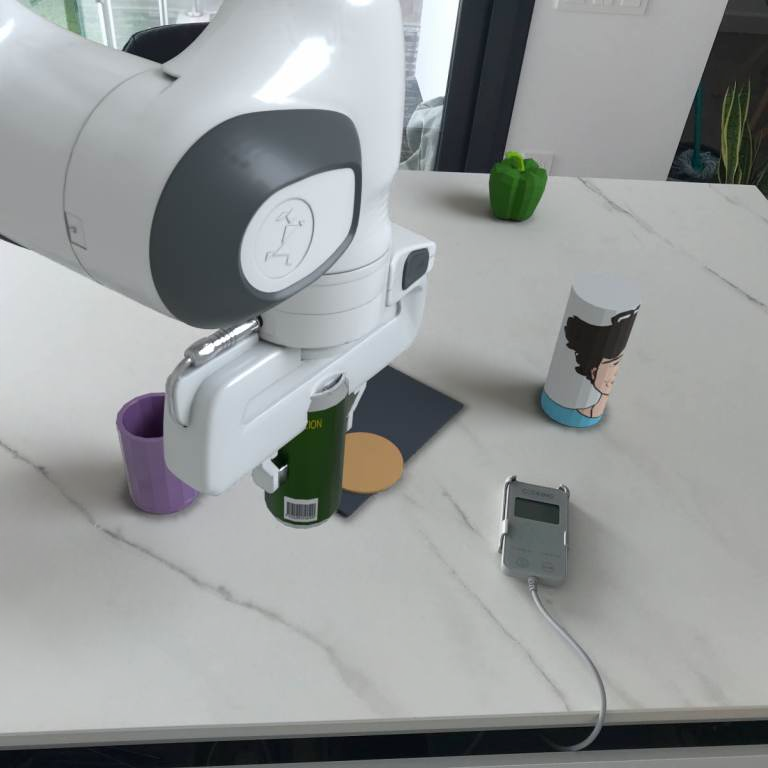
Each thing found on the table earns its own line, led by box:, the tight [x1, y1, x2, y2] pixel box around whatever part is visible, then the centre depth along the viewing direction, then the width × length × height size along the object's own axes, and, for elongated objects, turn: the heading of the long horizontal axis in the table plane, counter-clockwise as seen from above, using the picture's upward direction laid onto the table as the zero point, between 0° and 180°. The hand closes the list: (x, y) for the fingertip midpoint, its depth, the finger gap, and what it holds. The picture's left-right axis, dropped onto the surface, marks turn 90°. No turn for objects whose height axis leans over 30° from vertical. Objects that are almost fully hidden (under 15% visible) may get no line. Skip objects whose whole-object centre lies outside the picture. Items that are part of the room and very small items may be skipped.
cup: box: [540, 271, 644, 428], centre depth 80 cm, size 7×7×15 cm
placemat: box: [336, 364, 465, 518], centre depth 80 cm, size 20×20×1 cm
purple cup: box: [115, 391, 200, 515], centre depth 68 cm, size 6×6×9 cm
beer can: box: [263, 371, 349, 530], centre depth 51 cm, size 5×5×12 cm
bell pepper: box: [488, 150, 548, 222], centre depth 115 cm, size 8×8×10 cm
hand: (304, 455), depth 52 cm, fingers closed on beer can, 5 cm apart
